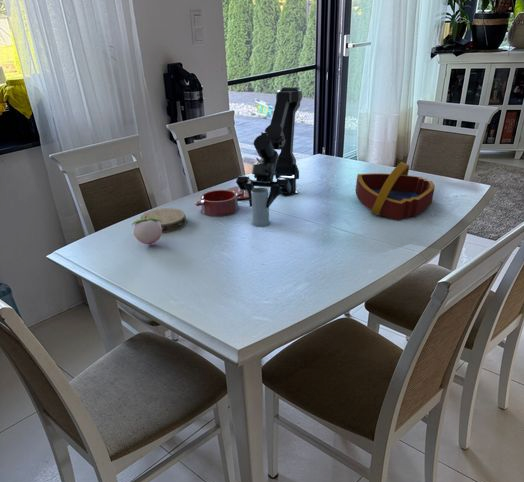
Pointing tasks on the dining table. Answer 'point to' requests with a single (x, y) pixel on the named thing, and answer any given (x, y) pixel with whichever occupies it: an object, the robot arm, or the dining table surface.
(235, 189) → the dutch oven lid
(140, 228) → the decorative fruit
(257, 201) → the steel cup
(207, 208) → the dutch oven
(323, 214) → the dining table surface
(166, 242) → the dining table surface
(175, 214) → the tin can
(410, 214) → the decorative basket
